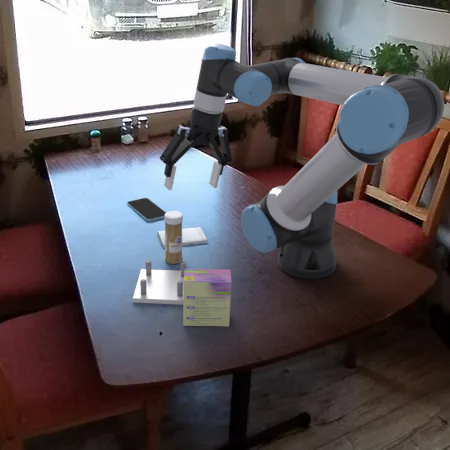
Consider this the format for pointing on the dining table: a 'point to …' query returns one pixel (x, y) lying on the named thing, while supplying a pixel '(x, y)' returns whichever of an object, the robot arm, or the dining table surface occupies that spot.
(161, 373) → the dining table surface
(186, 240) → the hard drive
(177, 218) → the sprinkles bottle
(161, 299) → the pin tray
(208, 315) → the box
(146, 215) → the smartphone
